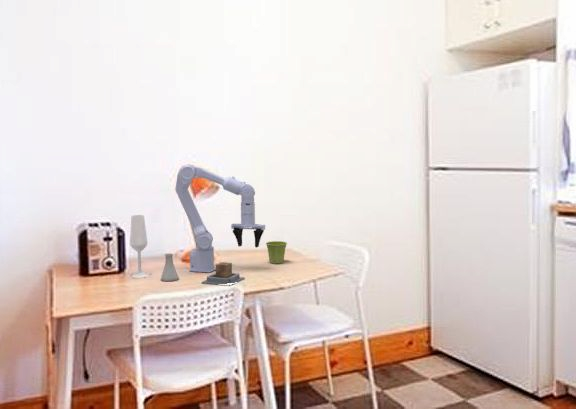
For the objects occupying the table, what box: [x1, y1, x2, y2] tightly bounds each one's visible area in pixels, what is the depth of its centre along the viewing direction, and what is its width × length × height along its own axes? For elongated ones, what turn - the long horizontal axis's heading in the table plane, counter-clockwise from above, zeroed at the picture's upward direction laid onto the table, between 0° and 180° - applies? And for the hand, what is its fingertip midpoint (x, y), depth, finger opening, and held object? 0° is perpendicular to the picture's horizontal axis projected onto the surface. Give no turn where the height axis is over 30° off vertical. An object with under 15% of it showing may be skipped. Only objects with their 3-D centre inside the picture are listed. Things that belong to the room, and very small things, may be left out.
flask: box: [160, 252, 180, 282], centre depth 218 cm, size 7×7×10 cm
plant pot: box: [265, 240, 288, 265], centre depth 248 cm, size 9×9×9 cm
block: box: [215, 261, 233, 278], centre depth 215 cm, size 4×4×6 cm
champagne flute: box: [129, 214, 149, 279], centre depth 224 cm, size 7×7×24 cm
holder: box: [201, 272, 245, 286], centre depth 214 cm, size 12×12×2 cm
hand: (248, 246), depth 235 cm, fingers open, 7 cm apart
